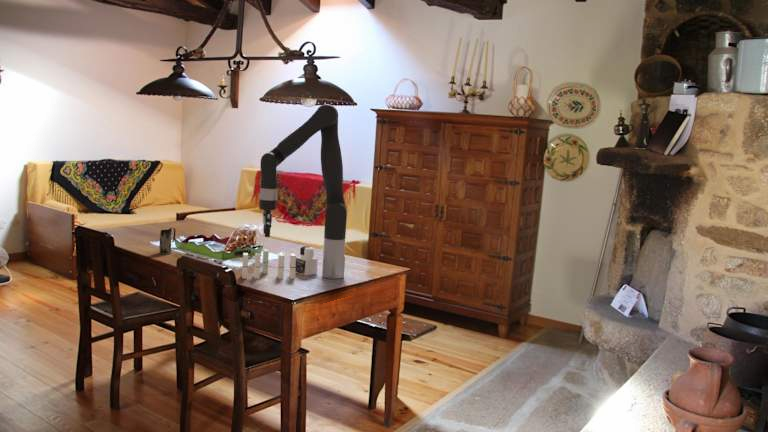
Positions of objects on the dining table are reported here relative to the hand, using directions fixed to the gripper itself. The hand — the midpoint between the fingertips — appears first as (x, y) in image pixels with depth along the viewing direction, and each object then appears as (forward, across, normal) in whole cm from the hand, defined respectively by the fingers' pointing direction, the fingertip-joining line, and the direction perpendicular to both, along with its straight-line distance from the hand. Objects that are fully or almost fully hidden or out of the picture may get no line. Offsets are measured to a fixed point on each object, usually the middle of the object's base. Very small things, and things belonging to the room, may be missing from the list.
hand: (266, 235), depth 281 cm
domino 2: (+17, -9, +4) cm, 19 cm away
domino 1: (+17, -9, +9) cm, 21 cm away
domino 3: (+17, 0, 0) cm, 17 cm away
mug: (+17, +39, +44) cm, 61 cm away
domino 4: (+17, -9, -6) cm, 20 cm away
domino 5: (+17, -9, -11) cm, 22 cm away
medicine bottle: (+17, -1, -18) cm, 25 cm away
